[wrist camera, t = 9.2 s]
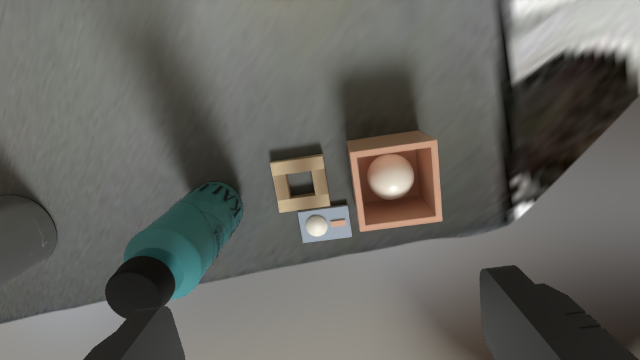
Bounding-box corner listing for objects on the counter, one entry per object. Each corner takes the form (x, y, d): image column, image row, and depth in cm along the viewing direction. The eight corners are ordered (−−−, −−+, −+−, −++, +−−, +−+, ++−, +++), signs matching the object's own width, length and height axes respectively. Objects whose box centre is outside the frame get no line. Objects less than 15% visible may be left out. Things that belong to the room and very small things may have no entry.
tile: (303, 240, 44) (303, 243, 43) (298, 210, 42) (297, 213, 42) (351, 234, 43) (352, 237, 42) (347, 204, 42) (347, 206, 41)
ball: (367, 194, 41) (372, 209, 36) (362, 152, 40) (366, 163, 35) (410, 188, 41) (421, 202, 36) (406, 146, 40) (417, 155, 35)
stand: (281, 209, 42) (279, 212, 41) (271, 161, 41) (270, 163, 40) (330, 202, 42) (330, 205, 41) (322, 153, 41) (322, 155, 39)
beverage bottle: (202, 230, 44) (100, 347, 24) (188, 179, 42) (67, 261, 23) (253, 223, 43) (191, 336, 24) (241, 171, 41) (164, 248, 22)
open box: (355, 207, 42) (360, 231, 35) (346, 140, 40) (349, 152, 33) (424, 198, 42) (442, 221, 35) (418, 130, 39) (437, 139, 33)
